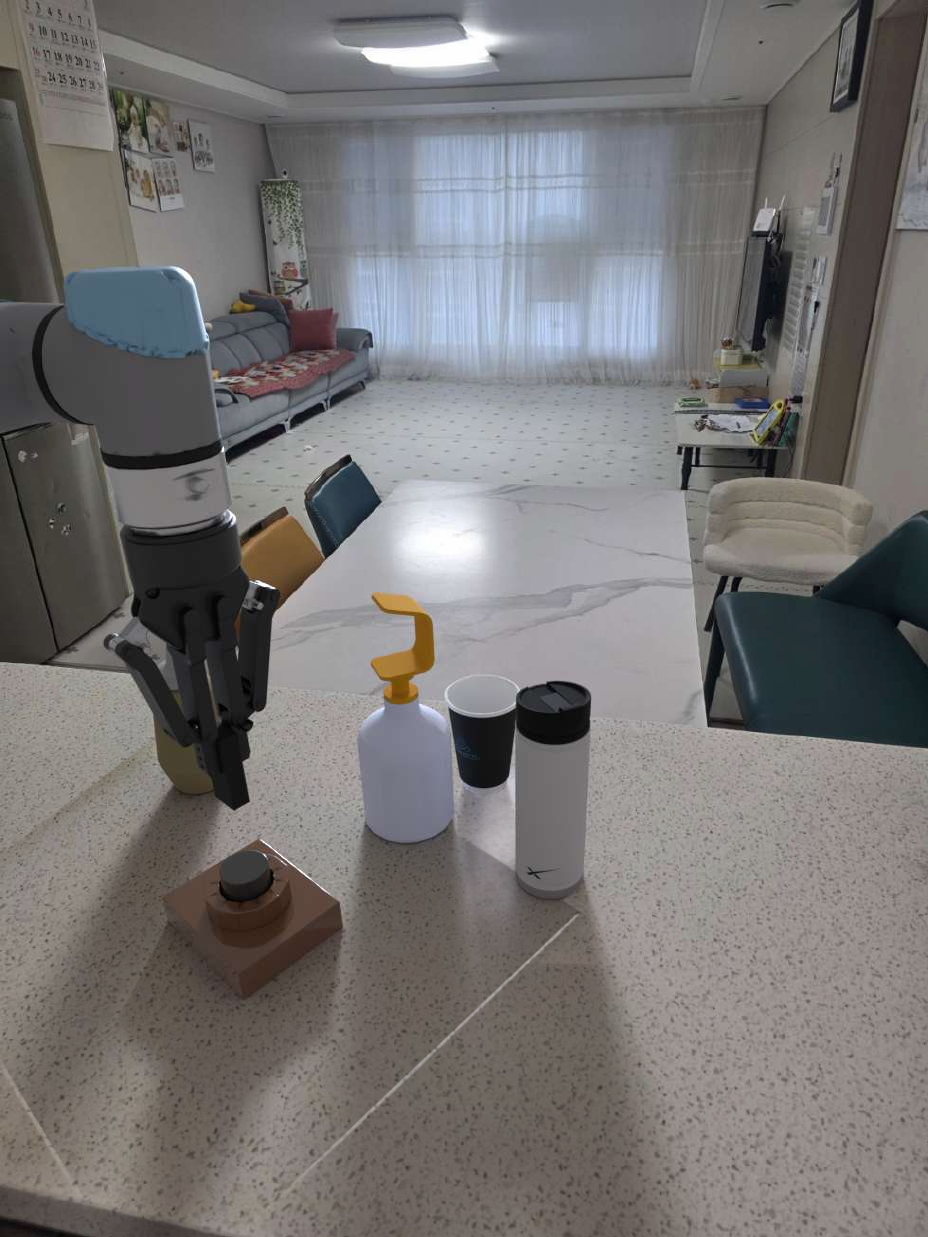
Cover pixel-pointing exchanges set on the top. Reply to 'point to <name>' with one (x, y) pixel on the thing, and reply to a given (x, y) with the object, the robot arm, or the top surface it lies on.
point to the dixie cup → (483, 730)
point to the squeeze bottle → (172, 755)
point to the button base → (253, 922)
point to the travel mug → (551, 787)
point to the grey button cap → (245, 876)
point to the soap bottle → (406, 742)
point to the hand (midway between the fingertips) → (232, 798)
